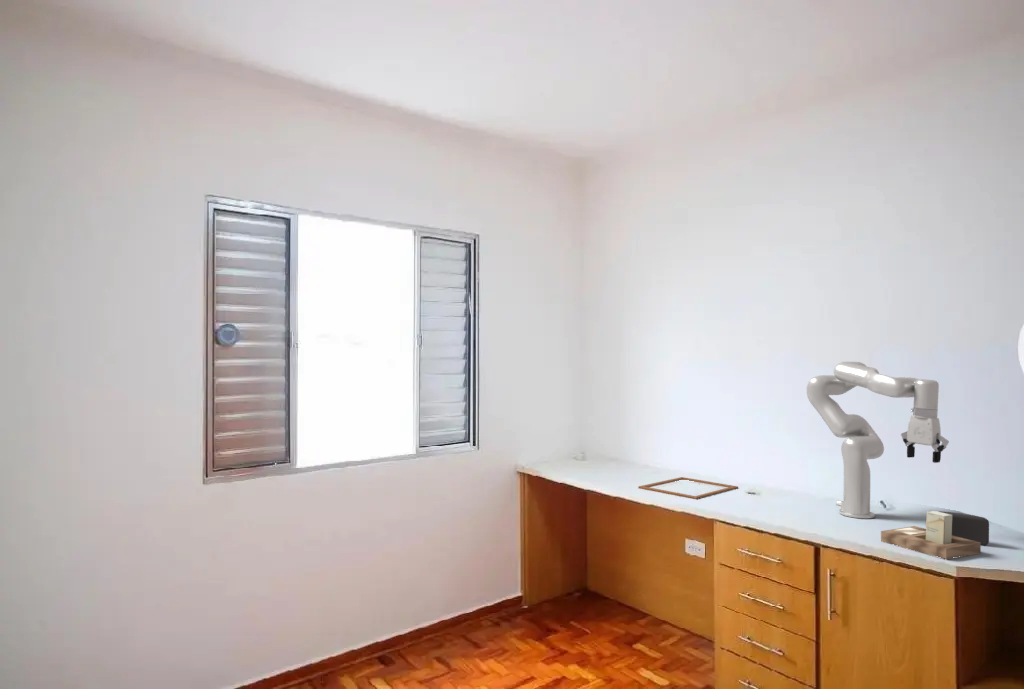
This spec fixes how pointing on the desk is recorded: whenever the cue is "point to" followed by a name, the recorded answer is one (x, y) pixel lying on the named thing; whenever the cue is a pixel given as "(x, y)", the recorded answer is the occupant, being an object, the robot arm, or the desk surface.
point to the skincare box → (939, 527)
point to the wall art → (672, 481)
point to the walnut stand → (929, 543)
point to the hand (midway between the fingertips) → (923, 459)
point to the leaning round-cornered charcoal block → (970, 527)
